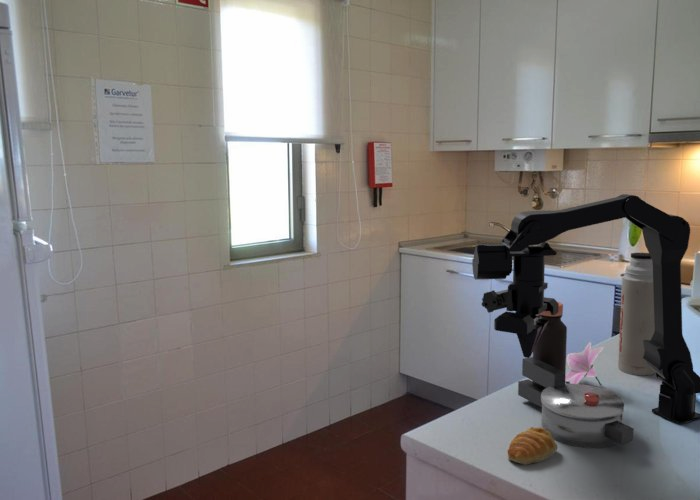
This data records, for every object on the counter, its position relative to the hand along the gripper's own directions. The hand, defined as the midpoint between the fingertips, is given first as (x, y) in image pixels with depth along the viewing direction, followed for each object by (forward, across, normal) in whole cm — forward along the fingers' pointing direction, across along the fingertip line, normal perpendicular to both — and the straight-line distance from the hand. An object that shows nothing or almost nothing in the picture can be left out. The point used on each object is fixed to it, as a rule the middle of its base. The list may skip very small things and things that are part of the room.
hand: (527, 356), depth 115 cm
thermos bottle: (+13, -39, +12) cm, 43 cm away
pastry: (+13, +13, +6) cm, 19 cm away
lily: (+13, -22, +5) cm, 26 cm away
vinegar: (+13, -14, 0) cm, 19 cm away
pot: (+12, -2, +8) cm, 15 cm away
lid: (+7, -3, +7) cm, 10 cm away
